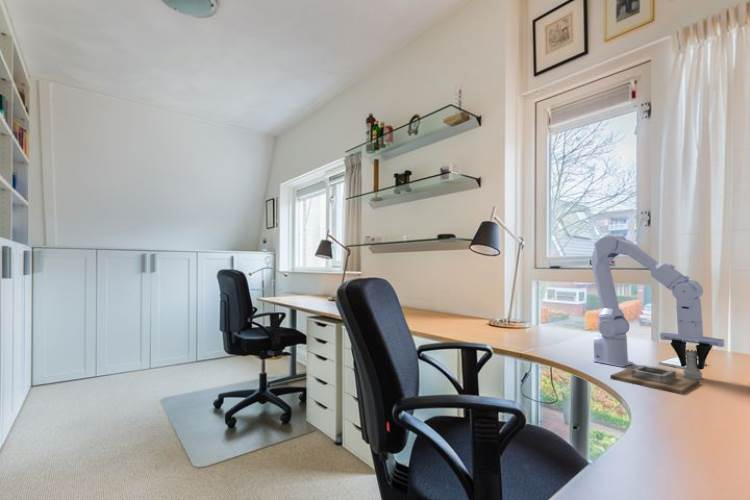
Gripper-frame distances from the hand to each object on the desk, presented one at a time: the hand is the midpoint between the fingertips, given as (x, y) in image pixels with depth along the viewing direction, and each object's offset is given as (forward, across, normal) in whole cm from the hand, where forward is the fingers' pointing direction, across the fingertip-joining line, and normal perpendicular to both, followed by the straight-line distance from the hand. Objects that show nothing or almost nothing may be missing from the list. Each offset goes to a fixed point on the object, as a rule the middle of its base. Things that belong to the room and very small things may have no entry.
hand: (692, 367), depth 109 cm
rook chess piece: (+3, 0, 0) cm, 3 cm away
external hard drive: (+4, -7, +15) cm, 17 cm away
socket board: (+3, -6, -12) cm, 14 cm away
